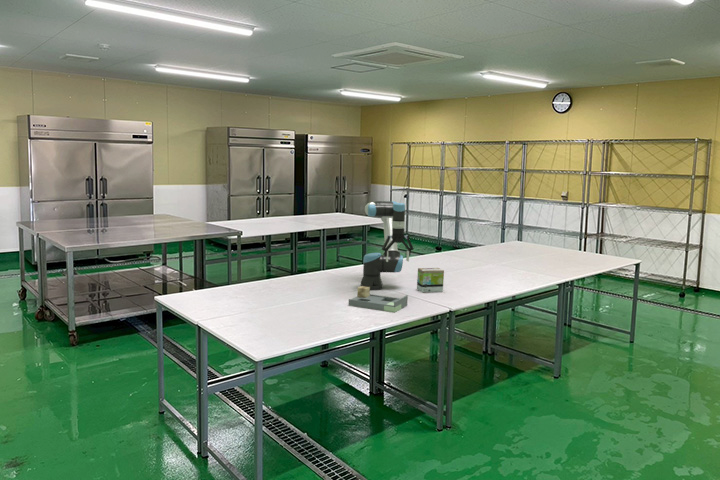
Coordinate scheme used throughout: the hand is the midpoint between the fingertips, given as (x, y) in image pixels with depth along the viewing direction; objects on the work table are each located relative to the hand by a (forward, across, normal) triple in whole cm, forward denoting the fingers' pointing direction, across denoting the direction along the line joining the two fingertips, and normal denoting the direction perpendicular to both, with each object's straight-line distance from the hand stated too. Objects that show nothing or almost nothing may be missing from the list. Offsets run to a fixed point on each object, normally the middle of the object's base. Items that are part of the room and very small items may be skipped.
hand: (397, 261), depth 351 cm
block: (+19, -24, -9) cm, 32 cm away
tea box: (+23, +27, +11) cm, 37 cm away
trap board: (+22, -18, -20) cm, 35 cm away
